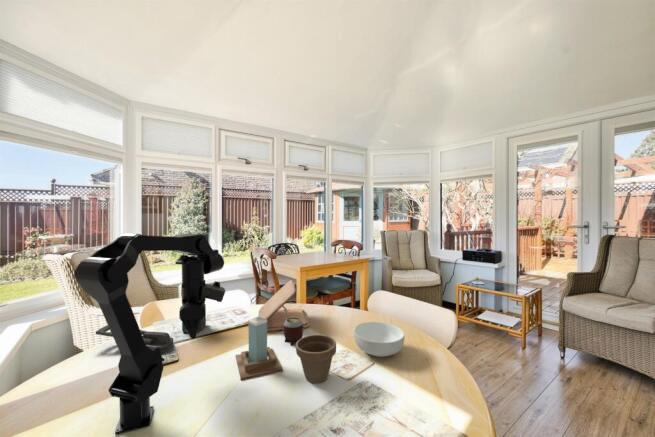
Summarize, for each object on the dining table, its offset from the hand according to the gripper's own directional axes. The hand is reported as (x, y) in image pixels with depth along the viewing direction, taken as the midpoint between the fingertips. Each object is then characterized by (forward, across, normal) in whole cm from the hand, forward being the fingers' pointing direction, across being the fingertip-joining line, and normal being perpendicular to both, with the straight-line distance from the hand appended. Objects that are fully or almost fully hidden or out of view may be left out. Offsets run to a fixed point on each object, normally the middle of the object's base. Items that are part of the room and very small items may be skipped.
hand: (194, 332), depth 84 cm
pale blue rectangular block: (+12, 0, -18) cm, 22 cm away
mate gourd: (+13, +10, -32) cm, 36 cm away
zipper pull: (+13, +28, +19) cm, 37 cm away
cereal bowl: (+13, -8, -57) cm, 59 cm away
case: (+14, +31, -34) cm, 48 cm away
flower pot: (+13, -14, -32) cm, 37 cm away
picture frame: (+13, 0, -18) cm, 22 cm away
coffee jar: (+13, +37, +1) cm, 39 cm away
